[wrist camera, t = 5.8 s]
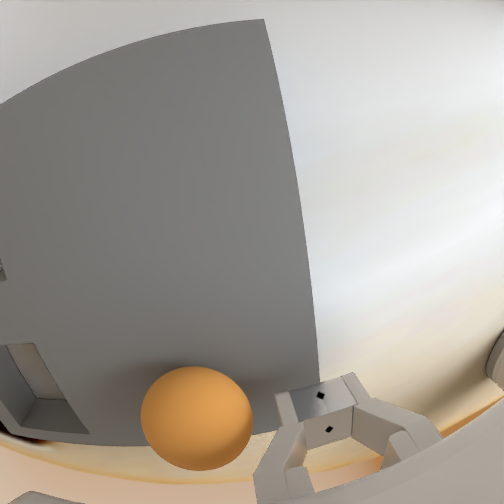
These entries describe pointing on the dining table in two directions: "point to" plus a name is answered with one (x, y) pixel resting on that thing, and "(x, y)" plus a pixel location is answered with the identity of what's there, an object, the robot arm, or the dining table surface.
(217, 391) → the ball
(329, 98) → the dining table surface
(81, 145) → the grey flat block
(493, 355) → the travel mug
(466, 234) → the dining table surface
